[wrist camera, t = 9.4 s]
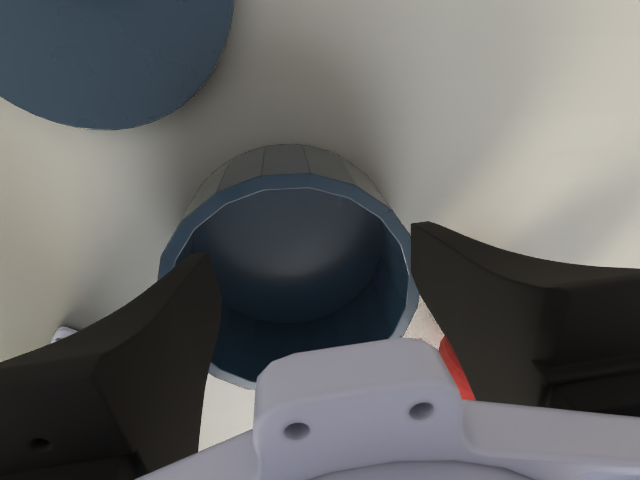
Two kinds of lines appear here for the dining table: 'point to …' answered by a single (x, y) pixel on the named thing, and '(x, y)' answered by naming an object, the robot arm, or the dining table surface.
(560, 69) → the dining table surface
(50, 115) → the pot lid
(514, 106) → the dining table surface
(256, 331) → the pot
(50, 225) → the dining table surface
